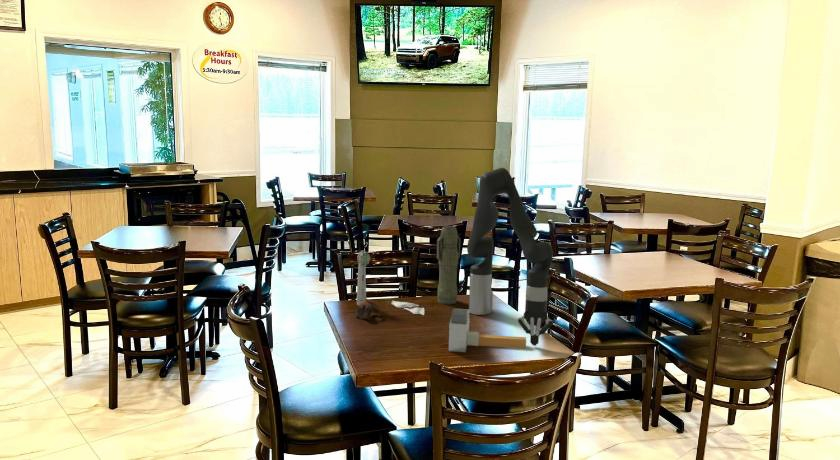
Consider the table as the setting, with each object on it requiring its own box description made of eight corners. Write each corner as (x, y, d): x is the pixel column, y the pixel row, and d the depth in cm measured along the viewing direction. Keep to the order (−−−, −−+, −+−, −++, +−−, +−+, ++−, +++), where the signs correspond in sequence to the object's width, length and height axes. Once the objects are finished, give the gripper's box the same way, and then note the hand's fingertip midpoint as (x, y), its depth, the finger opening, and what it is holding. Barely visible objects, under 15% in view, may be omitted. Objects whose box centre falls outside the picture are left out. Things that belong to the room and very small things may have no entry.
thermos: (430, 302, 287) (432, 226, 282) (450, 298, 295) (452, 224, 290) (443, 306, 280) (445, 228, 276) (463, 302, 288) (465, 226, 283)
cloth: (436, 315, 267) (436, 310, 267) (406, 318, 262) (406, 313, 262) (412, 301, 291) (412, 296, 291) (384, 303, 286) (384, 298, 285)
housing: (468, 335, 239) (469, 301, 238) (465, 352, 220) (466, 316, 218) (453, 334, 240) (454, 300, 238) (448, 351, 221) (449, 315, 219)
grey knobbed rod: (365, 304, 281) (365, 248, 278) (370, 307, 275) (371, 251, 272) (354, 305, 279) (354, 249, 276) (359, 308, 273) (359, 252, 270)
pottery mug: (353, 314, 265) (362, 296, 266) (373, 324, 266) (382, 306, 267) (354, 316, 253) (363, 297, 254) (375, 326, 254) (384, 307, 255)
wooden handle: (525, 345, 229) (526, 334, 228) (525, 348, 225) (526, 338, 224) (461, 341, 232) (462, 330, 231) (461, 344, 228) (461, 334, 227)
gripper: (554, 296, 227) (552, 342, 230) (517, 294, 229) (515, 340, 231) (556, 301, 220) (553, 349, 222) (518, 299, 221) (515, 347, 224)
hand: (534, 344), depth 227 cm, fingers closed
